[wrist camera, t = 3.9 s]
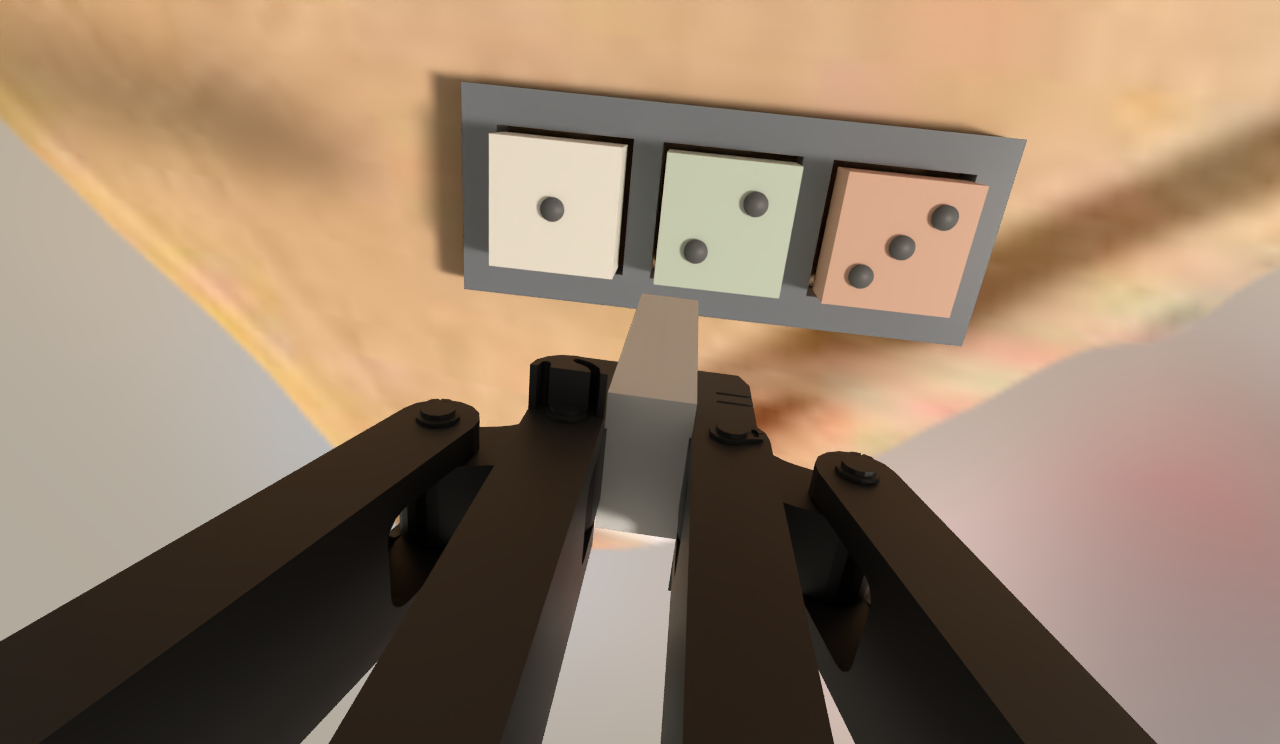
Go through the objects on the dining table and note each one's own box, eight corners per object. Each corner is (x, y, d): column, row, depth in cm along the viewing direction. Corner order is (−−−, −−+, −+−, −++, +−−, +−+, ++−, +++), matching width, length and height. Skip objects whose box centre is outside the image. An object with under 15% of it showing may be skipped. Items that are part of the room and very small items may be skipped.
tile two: (656, 271, 32) (653, 285, 30) (669, 148, 30) (667, 152, 28) (772, 285, 32) (779, 299, 30) (795, 162, 30) (804, 166, 27)
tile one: (503, 254, 33) (487, 266, 30) (504, 131, 30) (487, 133, 28) (617, 267, 32) (611, 280, 30) (627, 144, 30) (621, 147, 28)
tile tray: (476, 279, 35) (464, 288, 33) (474, 83, 31) (460, 81, 29) (947, 333, 34) (961, 346, 32) (1006, 138, 30) (1026, 139, 28)
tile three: (812, 289, 32) (822, 304, 30) (837, 166, 30) (850, 171, 27) (931, 303, 32) (951, 319, 29) (966, 180, 29) (991, 186, 27)
